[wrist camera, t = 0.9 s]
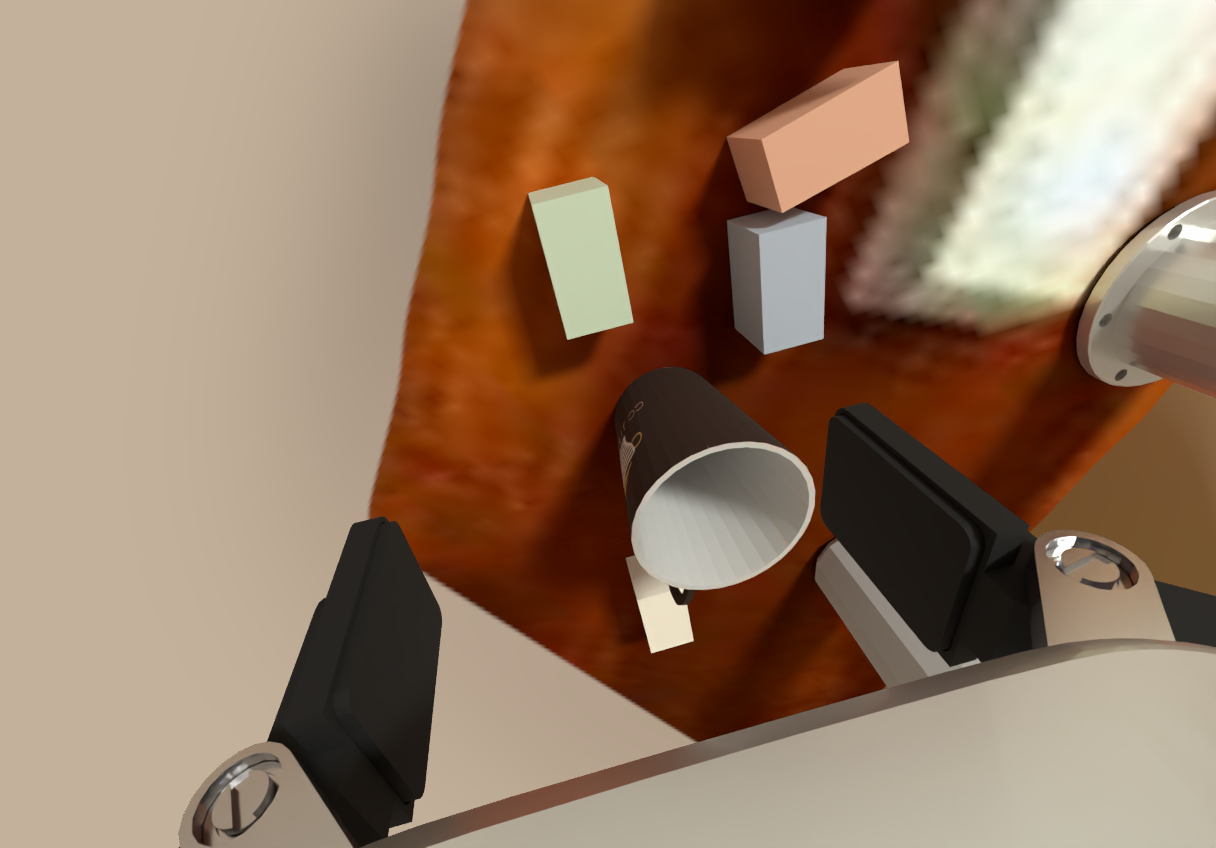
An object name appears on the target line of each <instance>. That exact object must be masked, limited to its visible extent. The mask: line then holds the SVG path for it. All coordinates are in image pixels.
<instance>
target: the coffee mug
mask: <svg viewBox="0 0 1216 848" xmlns="http://www.w3.org/2000/svg"><path fill="white" fill-rule="evenodd" d="M615 428H616V435H617V442H618V449H619V457H620V464H621V471H622V478H623V485H624V492H625V499H626V506H627V513H628V520H629V527H630V535H631V541H632V546H633V550H634V554H635V556H636V558H637V560H638V562H639V563H640V565H641V566H642V567H643V568H644V569H645V570H646V572H647V573H648V574H649V575H651V576H652V577H654V578H655V579H657V580H659V581H660V582H662V583H665V584H668V585H669V589H670V592H671V595H672V597H673V599H674V601H675V603H676V604H677V605H688V604H689V603H690V602H691V600H692V598H693V596H694V593H695V590H708V589H716V588H722V587H726V586H730V585H734V584H737V583H740V582H742V581H745V580H747V579H750V578H752V577H754V576H756V575H758V574H759V573H761V572H763V571H765V570H766V569H768V568H770V567H771V566H772V565H774V564H775V563H776V562H778V561H779V560H780V559H782V558H783V557H784V556H785V555H786V554H787V553H788V552H789V551H790V550H791V549H792V548H793V547H794V546H795V544H796V543H797V542H798V540H799V539H800V538H801V536H802V535H803V534H804V532H805V530H806V528H807V526H808V524H809V522H810V520H811V516H812V513H813V509H814V506H815V488H814V484H813V479H812V477H811V475H810V473H809V471H808V469H807V467H806V466H805V465H804V464H803V463H802V462H801V461H800V460H799V459H798V458H797V457H796V456H795V455H794V454H793V453H792V452H791V451H789V450H788V449H787V448H786V447H785V446H783V445H782V444H781V443H780V442H779V441H777V440H776V439H775V438H774V437H773V436H772V435H770V434H769V433H768V432H767V431H766V430H764V429H763V428H762V427H761V426H760V425H758V424H757V423H756V422H755V421H754V420H752V419H751V418H750V417H749V416H748V415H747V414H745V413H744V412H743V411H742V410H741V409H739V408H738V407H737V406H736V405H735V404H733V403H732V402H731V401H730V400H729V399H728V398H726V397H725V396H724V395H723V394H722V393H720V392H719V391H718V390H717V389H716V388H714V387H713V386H712V385H711V384H710V383H708V382H707V381H706V380H705V379H704V378H703V377H701V376H700V375H698V374H697V373H695V372H693V371H691V370H688V369H685V368H678V367H666V368H661V369H656V370H653V371H651V372H648V373H646V374H644V375H642V376H641V377H639V378H638V379H636V380H635V381H634V382H633V383H632V384H631V385H630V386H629V387H628V388H627V389H626V390H625V392H624V393H623V394H622V396H621V398H620V400H619V402H618V404H617V407H616V412H615ZM679 588H682V589H684V591H683V593H681V591H680V590H679Z"/></svg>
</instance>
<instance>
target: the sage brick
mask: <svg viewBox="0 0 1216 848" xmlns="http://www.w3.org/2000/svg"><path fill="white" fill-rule="evenodd" d="M528 196H529V199H530V203H531V207H532V211H533V214H534V218H535V222H536V226H537V229H538V233H539V237H540V241H541V244H542V248H543V252H544V256H545V259H546V263H547V267H548V271H549V274H550V278H551V282H552V286H553V289H554V293H555V297H556V300H557V304H558V308H559V312H560V315H561V319H562V322H563V326H564V329H565V333H566V336H567V340H569V339H572V338H576V337H580V336H584V335H588V334H591V333H595V332H599V331H603V330H607V329H610V328H614V327H618V326H622V325H626V324H629V323H633V317H632V312H631V307H630V301H629V296H628V291H627V285H626V280H625V275H624V269H623V264H622V259H621V253H620V248H619V243H618V237H617V232H616V227H615V221H614V216H613V211H612V205H611V200H610V195H609V189H608V185H606V184H604V183H603V182H601V181H600V180H598V179H597V178H595V177H590V178H586V179H582V180H578V181H574V182H570V183H566V184H562V185H558V186H554V187H550V188H546V189H542V190H538V191H534V192H530V193H528Z"/></svg>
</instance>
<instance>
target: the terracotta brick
mask: <svg viewBox="0 0 1216 848" xmlns="http://www.w3.org/2000/svg"><path fill="white" fill-rule="evenodd" d="M727 141H728V144H729V147H730V150H731V153H732V156H733V159H734V163H735V166H736V169H737V172H738V175H739V178H740V181H741V184H742V188H743V191H744V194H745V197H746V200H747V202H750V203H753V204H756V205H759V206H762V207H765V208H768V209H771V210H774V211H777V212H780V213H784V212H785V211H787V210H789V209H791V208H792V207H794V206H796V205H798V204H800V203H801V202H803V201H805V200H807V199H809V198H810V197H812V196H814V195H816V194H818V193H819V192H821V191H823V190H825V189H826V188H828V187H830V186H832V185H834V184H835V183H837V182H839V181H841V180H843V179H844V178H846V177H848V176H850V175H851V174H853V173H855V172H857V171H859V170H860V169H862V168H864V167H866V166H868V165H869V164H871V163H873V162H875V161H877V160H878V159H880V158H882V157H884V156H885V155H887V154H889V153H891V152H893V151H894V150H896V149H898V148H900V147H902V146H903V145H905V144H907V143H909V137H908V130H907V123H906V115H905V108H904V101H903V93H902V86H901V79H900V71H899V64H898V61H893V62H887V63H880V64H873V65H867V66H860V67H853V68H847V69H842V70H841V71H839V72H837V73H836V74H834V75H832V76H830V77H829V78H827V79H825V80H823V81H822V82H820V83H818V84H817V85H815V86H813V87H811V88H810V89H808V90H806V91H805V92H803V93H801V94H799V95H798V96H796V97H794V98H793V99H791V100H789V101H787V102H786V103H784V104H782V105H781V106H779V107H777V108H775V109H774V110H772V111H770V112H768V113H767V114H765V115H763V116H762V117H760V118H758V119H756V120H755V121H753V122H751V123H750V124H748V125H746V126H744V127H743V128H741V129H739V130H738V131H736V132H734V133H732V134H731V135H729V136H727Z"/></svg>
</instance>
